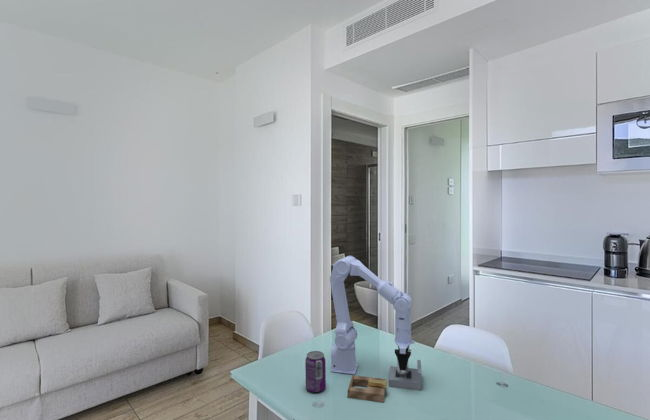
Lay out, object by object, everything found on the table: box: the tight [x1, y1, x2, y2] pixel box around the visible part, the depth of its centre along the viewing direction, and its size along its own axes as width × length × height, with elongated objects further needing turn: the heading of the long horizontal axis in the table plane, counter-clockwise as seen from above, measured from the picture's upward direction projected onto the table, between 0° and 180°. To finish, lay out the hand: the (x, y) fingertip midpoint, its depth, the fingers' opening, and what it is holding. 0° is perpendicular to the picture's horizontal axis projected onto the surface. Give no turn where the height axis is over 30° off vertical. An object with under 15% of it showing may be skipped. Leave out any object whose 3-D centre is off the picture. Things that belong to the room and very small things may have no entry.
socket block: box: [347, 374, 387, 403], centre depth 115 cm, size 12×10×2 cm
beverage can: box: [304, 350, 327, 393], centre depth 117 cm, size 7×7×12 cm
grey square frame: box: [388, 359, 423, 391], centre depth 121 cm, size 11×10×6 cm
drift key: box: [368, 379, 388, 389], centre depth 114 cm, size 6×3×1 cm, turn 76°
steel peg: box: [396, 358, 409, 379], centre depth 122 cm, size 4×4×8 cm
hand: (403, 364), depth 121 cm, fingers open, 7 cm apart
